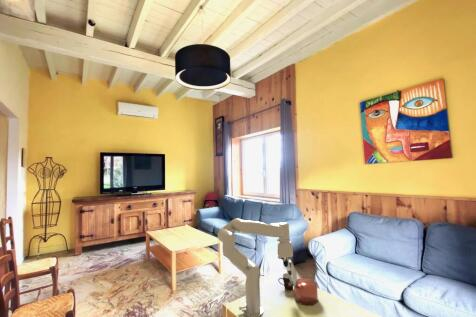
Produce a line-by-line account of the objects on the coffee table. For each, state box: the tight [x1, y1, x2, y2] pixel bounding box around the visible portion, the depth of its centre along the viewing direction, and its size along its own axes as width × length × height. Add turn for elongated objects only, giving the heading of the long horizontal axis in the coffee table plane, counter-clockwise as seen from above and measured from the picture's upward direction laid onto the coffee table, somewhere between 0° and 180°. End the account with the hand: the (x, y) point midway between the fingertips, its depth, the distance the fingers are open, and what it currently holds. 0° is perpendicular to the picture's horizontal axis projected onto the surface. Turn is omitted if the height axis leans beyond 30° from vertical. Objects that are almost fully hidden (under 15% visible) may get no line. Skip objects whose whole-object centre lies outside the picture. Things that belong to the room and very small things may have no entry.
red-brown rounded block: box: [293, 277, 319, 306], centre depth 170 cm, size 16×16×11 cm
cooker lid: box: [285, 259, 298, 287], centre depth 169 cm, size 17×17×3 cm
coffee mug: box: [278, 272, 294, 292], centre depth 186 cm, size 12×9×10 cm
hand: (285, 266), depth 169 cm, fingers closed
